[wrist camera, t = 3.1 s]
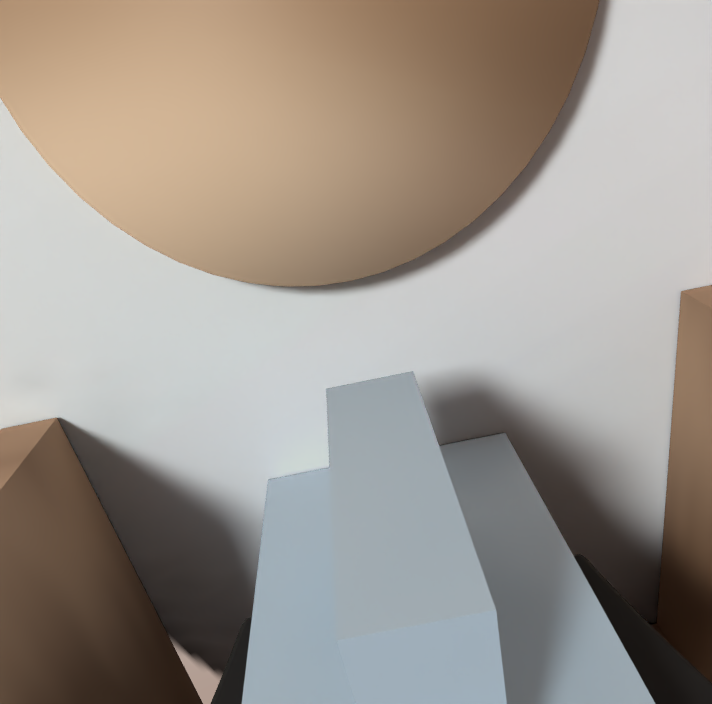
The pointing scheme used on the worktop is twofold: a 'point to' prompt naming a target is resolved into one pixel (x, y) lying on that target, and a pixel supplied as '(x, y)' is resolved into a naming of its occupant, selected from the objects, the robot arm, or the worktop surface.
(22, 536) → the cradle
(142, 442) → the worktop surface
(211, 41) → the coaster
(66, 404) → the worktop surface
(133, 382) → the worktop surface
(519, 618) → the pale blue stepped block
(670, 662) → the robot arm
